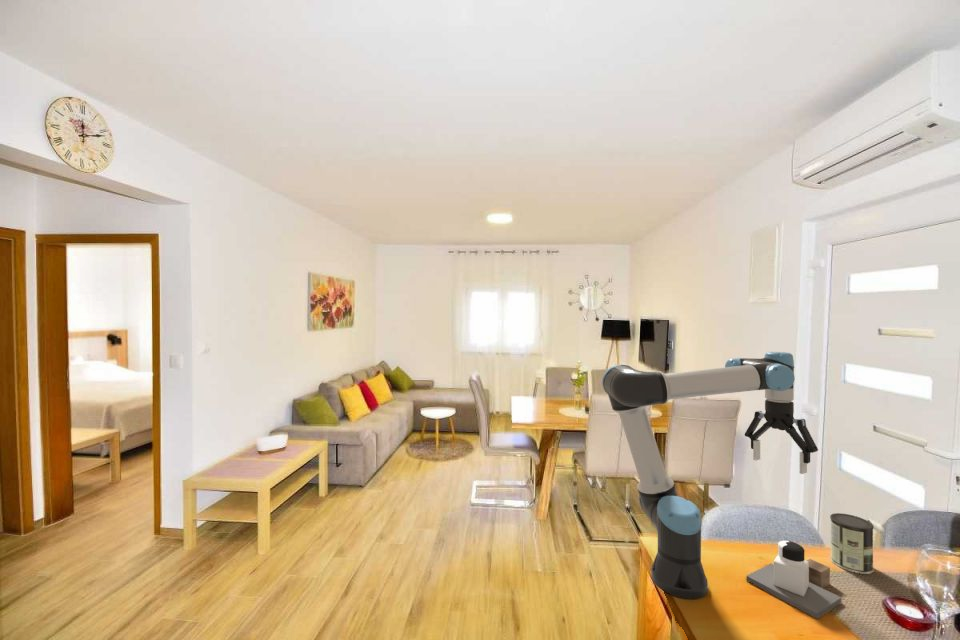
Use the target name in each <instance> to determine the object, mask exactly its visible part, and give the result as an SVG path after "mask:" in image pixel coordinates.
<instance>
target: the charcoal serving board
mask: <svg viewBox="0 0 960 640" xmlns="http://www.w3.org/2000/svg"><path fill="white" fill-rule="evenodd" d="M745 579H746V580H747V582H748V581H749V582H748V583H750V582H751V583H750V584H752V583H753V584H752V585H753V586H755V585H756V586H755V587H757V588H759V589H761V590H763V591H765V592H766V593H769V594H770V595H772V596H774V597H776V598H778V599H779V600H781V601H783V602H785V603H787V604H789V605H791V606H793V607H794V608H797V609H798V610H800V611H802V612H804V613H805V614H807V615H809V616H811V617H813V618H815V619H817V620H818V619H820V618H821V617H822V616H825V615H826V614H827V613H829V612H831V611H832V610H833V609H835V608H836V607H837V606H840V605H841V604H842V597H841V596H840V595H837V594H835V593H833V592H832V591H831V592H830V591H829V590H827V589H825V588H821V587H819V586H817V585H814V584H812V583H810V582H809V586H808V588H807V591H806V593H805V596H804V597H803V596H800V595H798V594H795V593H792V592H790V591H787V590H785V589H782V588H780V587H777V586H775V585H774V563H769V564H767V565H765V566H762V567H761V568H758V569H757V570H755V571H753V572H751V573H749V574H747V575H746V576H745Z"/></svg>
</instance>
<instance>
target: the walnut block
mask: <svg viewBox="0 0 960 640" xmlns="http://www.w3.org/2000/svg"><path fill="white" fill-rule="evenodd" d="M806 561H808V562H809V582H810V583H812V584H814V585H817V586H819V587H821V588H823V589H825V588H826V587H827V586H829V585H830V584H831V582H830V581H831V575H830V574H831V568H830V566H828V565H825V564H822V563H820V562H818V561H816V560H814V559H811V558H809V559H807V560H806Z"/></svg>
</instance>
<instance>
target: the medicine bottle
mask: <svg viewBox="0 0 960 640" xmlns="http://www.w3.org/2000/svg"><path fill="white" fill-rule="evenodd" d="M777 545H778V547H777V548H778V550H777V551H778V553H777V555H776V557H775V559H774V560H773V565H774V585H775V586H777V587H780V588H782V589H785V590H787V591H790V592H792V593H795V594H798V595H800V596H803V597H804V596H805V593H806V591H807V588H808V586H809V562H808V561H807V560H805V548H804V547H803V546H802V545H800V544H799V543H797V542H794V541H791V540H780V541H779V542H778V543H777Z"/></svg>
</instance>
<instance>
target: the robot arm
mask: <svg viewBox="0 0 960 640" xmlns="http://www.w3.org/2000/svg"><path fill="white" fill-rule="evenodd" d="M795 380H796V379H795V361H794V355H793V354H792V353H790V352H785V351H783V352H782V351H766V352H765V354H764V357H763V358H747V357H746V358H742V357H737V358H736V357H735V358H728V359H727V360H726V362H725V366H724V367H718V368H710V369H700V370H691V371H690V370H689V371H682V372H681V371H680V372H672V373H664V372H662V371H661V370H659V371H658V370H657V371H643V370H638V369H635V368H633V367H632V366H629V365H628V364H627V365H626V364H615V365H612V366H610V367H609V368H608V369H607V370H606V371H604V374H603V376H602V387H603V390H604V392H605V393H606V394H607V396H608V399H609V402H610V406H611V407H612V410H613V411H614V412H615V413H618V415H619V418H620V422H621V425H622V427H623V430H624V435H625V437H626V440H627V443H628V447H629V450H630V453H631V456H632V459H633V463H634V466H635V469H636V472H637V476H638V478H639V482H638V483H637V486H636V488H637V491H638V500H639V506H640V508H641V509H642V512H643V513H644V514H645V515H646V517H647V518H648V519H649V521H650V522H651V523H652V524H653V527H654V528H655V530H656V531H657V552H656V555H655V558H654V560H653V562H652V565H651V570H650V571H651V573H650V574H651V577H650V578H651V580H652V582H653V583H654V584H655V586H656V587H657V588H659V589H660V590H661V591H663V592H665V593H666V594H669V595H671V596H673V597H677V598H681V599H686V600H687V599H688V600H696V599H700V598H703V597H704V596H706V595H707V593H708V591H709V590H708V589H709V586H708V585H709V584H708V583H709V582H708V578H707V576H706V574H705V570H704V567H703V563H702V523H703V521H702V516H701V511H700V508H699V507H698V506H697V504H695V503H694V502H692V501H691V500H688V499H686V498H684V497H682V496H679V494H678V491H677V488H676V485H675V482H674V479H672V478H671V477H669V476H667V472H666V471H665V467H664V464H663V460H662V456H661V453H660V449H659V447H658V444H657V441H656V437H655V435H654V431H653V428H652V424H651V422H650V421H651V420H650V419H649V415H648V412H647V409H646V407H647V406H654V405H664V404H667V403H668V402H669V400H677V399H686V398H688V399H689V398H694V397H695V398H696V397H698V398H699V397H706V396H715V395H723V394H733V393H734V394H735V393H743V392H753V391H762V390H763V391H764V398H765V400H764V410H765V412H763V411H762V410H757V411H754V416H753V419H752V421H751V422H750V424H749V425H748V427H747V429H746V431H745V433H744V436H745V437H748V438H749V439H750V448H751V450H752V451H753V453H752V457H753V458H752V459H753V461H758V460H761V439H759V438H760V437H761V436H763V435H764V433H766V432H767V431H768V430H769V429H770V428H772V429H775V430H776V429H777V430H780V431H785V432H786V433H787V434H788V435H789V436H790V437H791V439H792V440H793V441H794V442H795V444H796V445H797V446H798V448H799V449H800V450H801V451H799V474H800V475H803V474H807V473H808V464H810V463H811V453H816V452H818V451H819V449H818V446H817V445H816V443H815V440H814V438H813V436H812V435H811V433H810V431H809V429H808V427H807V423H806V421H807V420H806V419H804V418H799V419H798V418H795V417H794V414H795V413H794V412H795V409H794V408H795V407H794V405H795V403H794V397H795V396H794V395H795V394H794V391H795V389H794V385H795ZM762 419H765V420H766V421H765V422H764V423H763V424H762V425H761V426H760V428H758V429H757V427H758V426H759V425H760V423H761V421H762ZM794 424H795V426H796V427H797V429H798V430H799V433H800V434H799V433H798V432H797V429H796V427H794ZM756 429H757V430H756Z"/></svg>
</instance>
